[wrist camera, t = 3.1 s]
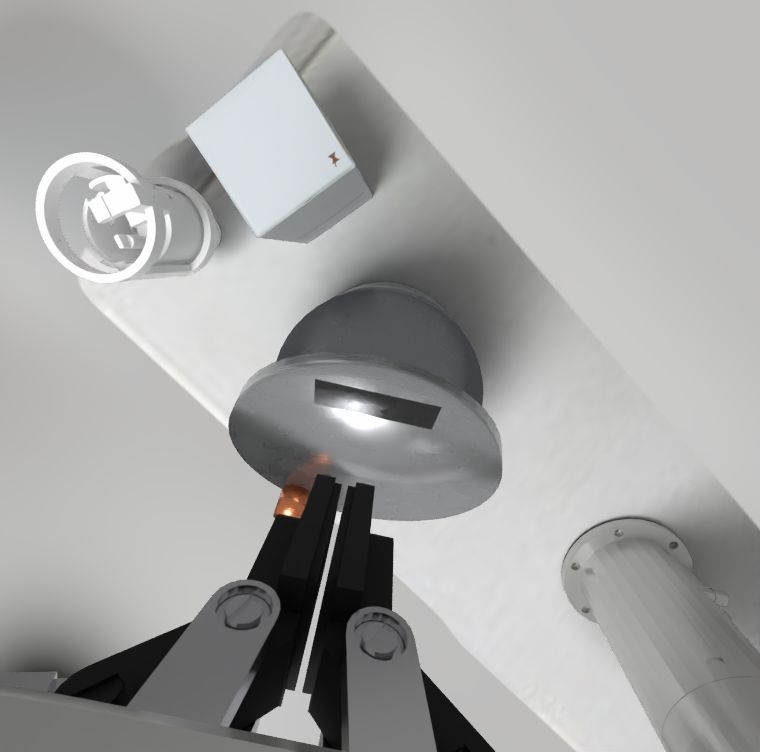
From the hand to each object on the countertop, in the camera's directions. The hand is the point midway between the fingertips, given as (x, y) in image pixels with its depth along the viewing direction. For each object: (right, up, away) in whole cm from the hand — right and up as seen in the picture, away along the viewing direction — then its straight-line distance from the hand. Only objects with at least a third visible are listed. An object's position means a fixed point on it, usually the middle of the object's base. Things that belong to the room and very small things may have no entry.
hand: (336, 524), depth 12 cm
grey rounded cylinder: (+2, +5, +28) cm, 29 cm away
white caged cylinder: (-14, +17, +26) cm, 34 cm away
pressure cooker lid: (0, 0, +14) cm, 14 cm away
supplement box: (-4, +21, +25) cm, 32 cm away
